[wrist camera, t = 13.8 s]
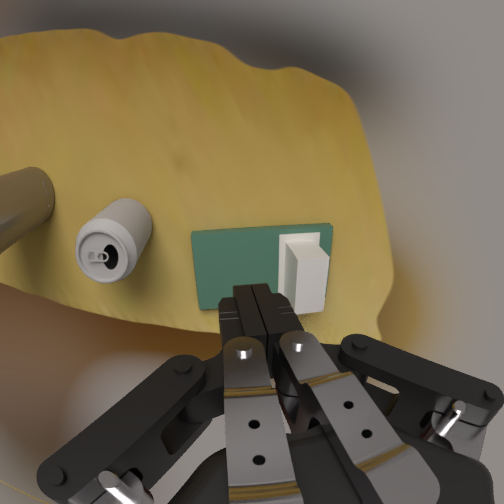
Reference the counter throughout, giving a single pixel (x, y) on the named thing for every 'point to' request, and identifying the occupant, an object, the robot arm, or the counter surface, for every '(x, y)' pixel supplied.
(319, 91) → the counter surface
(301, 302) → the block
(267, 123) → the counter surface
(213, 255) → the board
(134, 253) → the can
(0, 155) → the counter surface
